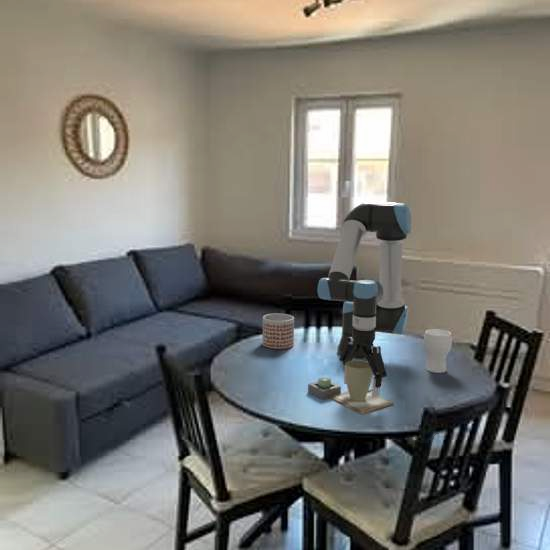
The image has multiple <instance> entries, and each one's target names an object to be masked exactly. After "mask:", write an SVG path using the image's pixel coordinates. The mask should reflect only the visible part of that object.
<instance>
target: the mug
mask: <svg viewBox="0 0 550 550" xmlns="http://www.w3.org/2000/svg"><path fill="white" fill-rule="evenodd" d="M345 368H346V384H345V385H346V387H347V391H349V395H350V398H351V400H353V401H364V400H365V398H366V395H367V393H369V392H370V393H372V388H371V389H370V387H371V383H372V378H373V376H374V374H373V372H372V369H371V367H370V365H369V363H368V361H367V360H361V359H359V360H358V359H353V360H352V361H348V362H346V363H345ZM383 380H384V377H383V378H382V382H383ZM382 382H381V384H382Z"/></svg>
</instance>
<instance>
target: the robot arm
mask: <svg viewBox="0 0 550 550" xmlns="http://www.w3.org/2000/svg"><path fill="white" fill-rule="evenodd" d="M341 231H342V233H341V237H340V239H339V242H338V246H337V249H336V252H335V254H334V257H333V261H332V262H331V263H332V264H331V267H330V269H329V273H328V275H327V277H322V278H320V279H319V280H318V284H317V294H318V297H319V299H322V300H325V301H327V300H328V301H338V302H343V306H342V327H341V330H342V332H341V337H340V339H339V343H338V345H337V348H336V349H337V351H336V353H337V354H338V355H339V356H340V357H339V361H340V362H342V365H343V374H344V375H343V376H344V377H343V384H345V385H347V384H346V368H345V363H346V362H348V361H352V360H358V359H359V360H361V359H365V360H366V361H367V362H368V363H369V365H370V367H371V369H372V372H373V376H372V385H371V386H372V388H371V389H372V391H371V393H372V397H376V396H379V397H380V394H381V387H382V383H381V382H383V380H382V378H383V379H384V378H386V377H387V376H388V373H387V369H386V367H385V364H384V359H383V356H382V353H381V352H382V347H381V346H380V345H377V346H375V345H374V341H375V340H376V333H384V334H391V335H402V334H404V332H405V329H406V325H407V321H408V317H409V308H410V307H409V306H407V305H405V304H406V302H405V300H404V299H403V298H402V280H403V279H402V276H403V275H402V274H403V273H402V270H403V269H402V268H403V267H402V266H403V242H404V241H405V240H406V239H407V237H408V236H407V235H410V234H411V231H412V216H411V210H410V208H409V206H408V205H407V204H406V203H401V202H379V201H378V202H375V201H366V202H363V203H361V204H359V205H357V206H356V207H353V208H352V209H351V211H349V213H348V214H347V215H346V216H345V218H344V219H343V222H342V224H341ZM367 233H374V234H375V237H376V239H377V240H378V242H379V281H378V280H376V279H368V280H367V279H359V280H354V279H353V280H352V279H350V278H351V275H352V272H353V269H354V264H355V261H356V259H357V255H358V251H359V248H360V245H361V242H362V239H363V238H364V237H365V236H366V235H367Z"/></svg>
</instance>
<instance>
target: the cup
mask: <svg viewBox="0 0 550 550" xmlns="http://www.w3.org/2000/svg"><path fill="white" fill-rule="evenodd" d="M424 332H425V333H424V336H423V342H422V343H423V346H424V347H423V348H424V350H425V353H426V356H427V357H426V358H427V361H426V365H425V370H426V371H428V372H429V373H430V372H431V373H436V374H437V373H439V374H440V373H441V374H442V373H445V372H446V371H447V364H446V360H447V356H448V354H449V353H450V351H451V348H452V345H453V336H452V333H451V332H450V331H448V330H444V329H438V328H437V329H436V328H432V329H426V331H424Z"/></svg>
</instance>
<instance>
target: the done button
mask: <svg viewBox="0 0 550 550" xmlns="http://www.w3.org/2000/svg"><path fill="white" fill-rule="evenodd" d="M317 381H318V387H320V388H322V389H326V388H329V387H331V382H332V379H331V378H330V377H325V376H324V377H323V376H322V377H319V378H317Z"/></svg>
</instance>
